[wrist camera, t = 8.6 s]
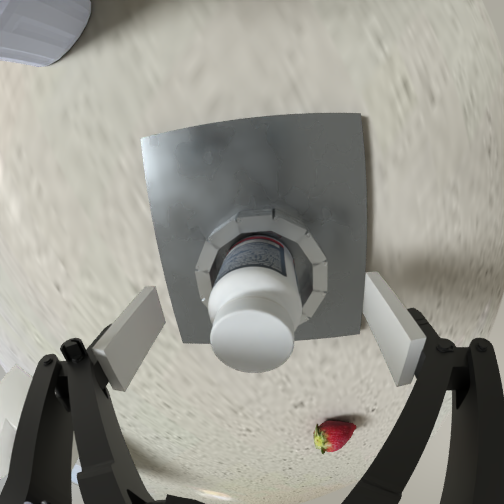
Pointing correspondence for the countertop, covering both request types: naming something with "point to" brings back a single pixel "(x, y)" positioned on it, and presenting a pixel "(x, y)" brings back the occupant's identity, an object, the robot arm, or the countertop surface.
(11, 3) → the soap bottle
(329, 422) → the fruit
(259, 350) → the pill bottle
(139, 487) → the robot arm
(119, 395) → the countertop surface
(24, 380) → the white toy house
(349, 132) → the duct plate
